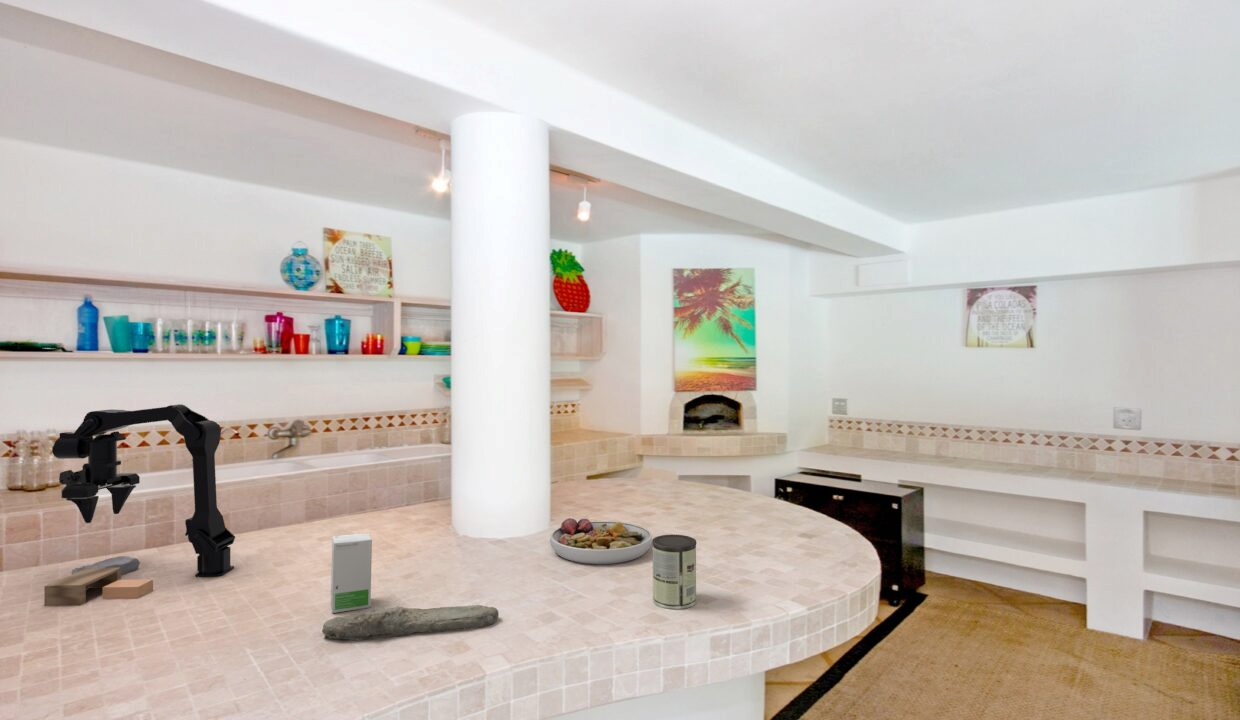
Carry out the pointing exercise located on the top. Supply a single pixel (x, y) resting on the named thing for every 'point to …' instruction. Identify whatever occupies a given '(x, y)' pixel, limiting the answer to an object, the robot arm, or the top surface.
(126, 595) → the peach cardboard box
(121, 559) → the stone block
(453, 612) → the elongated rock
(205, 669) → the top surface
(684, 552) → the coffee can
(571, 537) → the bowl
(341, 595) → the skincare box
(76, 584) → the shelf
